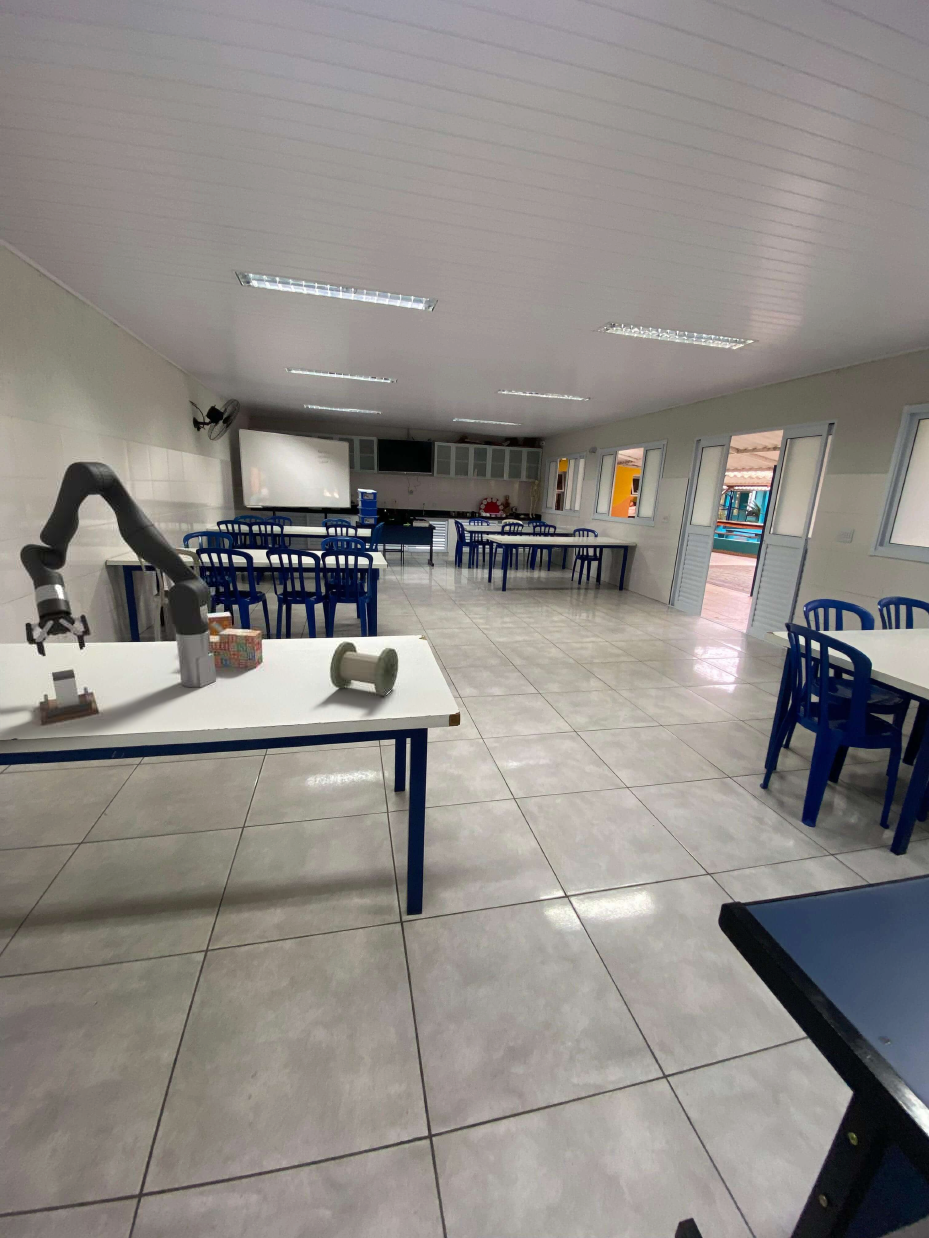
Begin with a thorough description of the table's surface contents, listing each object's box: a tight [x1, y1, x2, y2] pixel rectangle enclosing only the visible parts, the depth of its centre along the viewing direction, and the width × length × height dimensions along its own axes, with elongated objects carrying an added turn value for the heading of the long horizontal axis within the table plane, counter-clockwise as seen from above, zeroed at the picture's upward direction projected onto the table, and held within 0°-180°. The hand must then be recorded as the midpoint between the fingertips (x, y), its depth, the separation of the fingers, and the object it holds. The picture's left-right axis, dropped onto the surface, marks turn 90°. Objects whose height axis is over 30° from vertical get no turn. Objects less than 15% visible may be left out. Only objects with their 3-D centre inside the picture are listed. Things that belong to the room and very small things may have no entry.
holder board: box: [38, 686, 100, 726], centre depth 133 cm, size 14×12×3 cm
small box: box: [205, 611, 233, 636], centre depth 188 cm, size 8×6×13 cm
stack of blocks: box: [210, 628, 263, 669], centre depth 171 cm, size 21×6×12 cm, turn 89°
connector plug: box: [51, 668, 79, 708], centre depth 131 cm, size 4×4×10 cm
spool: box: [329, 641, 399, 697], centre depth 156 cm, size 16×15×15 cm
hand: (63, 651), depth 139 cm, fingers open, 8 cm apart
